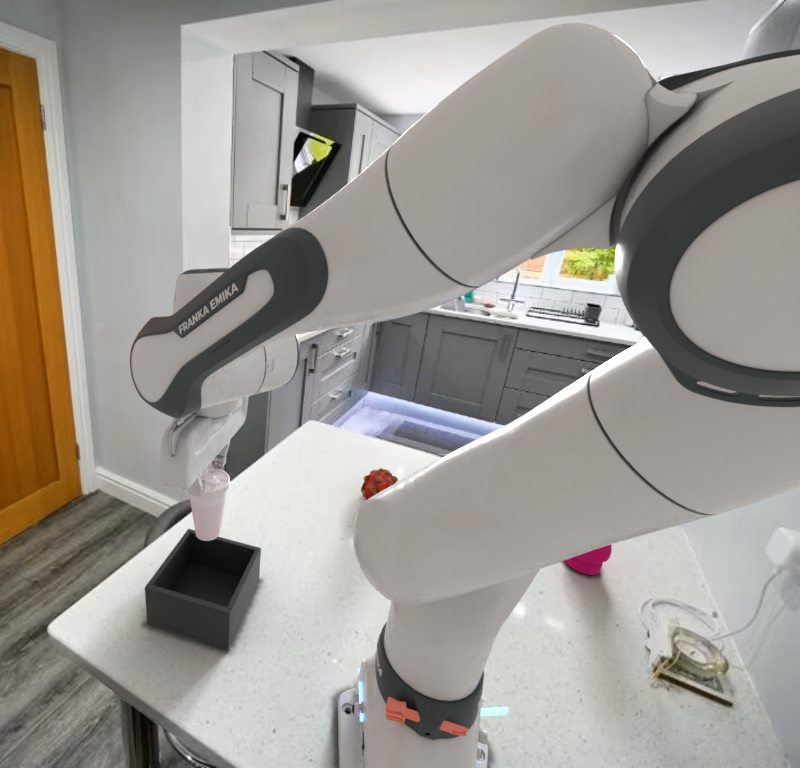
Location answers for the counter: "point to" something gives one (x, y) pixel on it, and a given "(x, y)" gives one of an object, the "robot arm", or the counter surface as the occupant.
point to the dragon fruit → (377, 482)
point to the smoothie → (210, 504)
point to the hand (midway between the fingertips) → (208, 478)
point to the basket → (204, 589)
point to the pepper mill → (590, 560)
